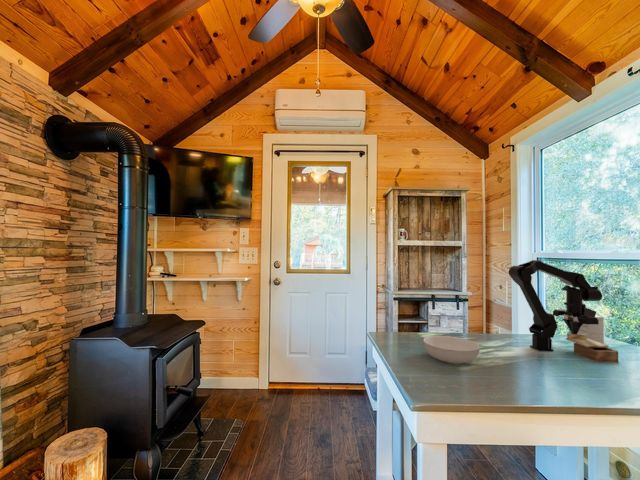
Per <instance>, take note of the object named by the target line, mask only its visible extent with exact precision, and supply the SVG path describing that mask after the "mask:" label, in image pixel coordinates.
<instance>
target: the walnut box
mask: <svg viewBox="0 0 640 480" xmlns="http://www.w3.org/2000/svg"><path fill="white" fill-rule="evenodd" d="M573 353H574V354H575V355H578V356H580V357H582V358H585V359H588V360H589V361H592V362H595V363H619V351H618V350H615V349H612V348H609V347H585V346H583V345H580V344H577V343H574V342H573Z"/></svg>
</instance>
